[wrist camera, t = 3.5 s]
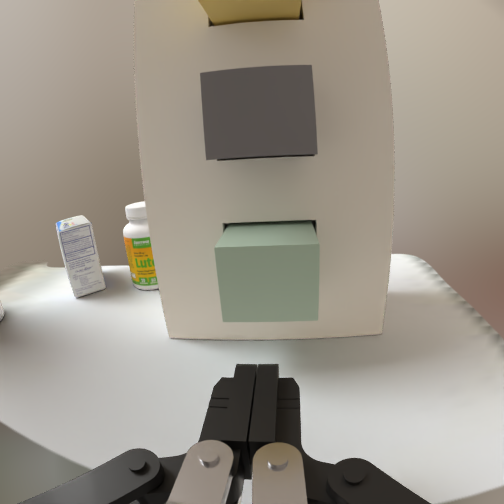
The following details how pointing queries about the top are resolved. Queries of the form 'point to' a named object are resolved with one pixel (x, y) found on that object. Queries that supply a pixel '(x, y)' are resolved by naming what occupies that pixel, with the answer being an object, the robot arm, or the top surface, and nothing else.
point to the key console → (268, 162)
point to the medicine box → (80, 255)
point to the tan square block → (250, 10)
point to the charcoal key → (259, 112)
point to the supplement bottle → (139, 248)
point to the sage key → (268, 271)
